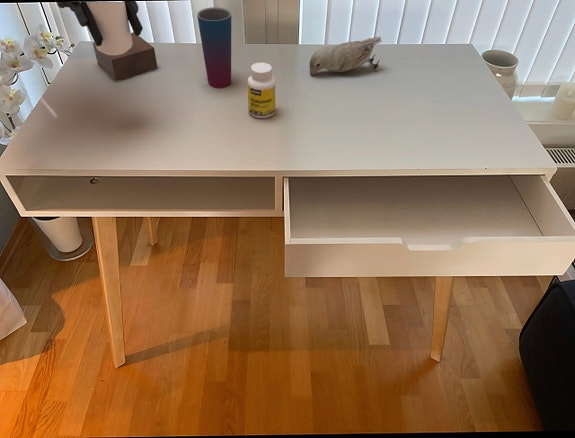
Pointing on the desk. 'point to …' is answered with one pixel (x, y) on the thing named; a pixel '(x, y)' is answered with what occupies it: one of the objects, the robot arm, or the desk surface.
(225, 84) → the cup
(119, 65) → the walnut block
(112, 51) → the beverage can
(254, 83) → the supplement bottle
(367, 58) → the decorative bird
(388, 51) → the desk surface
